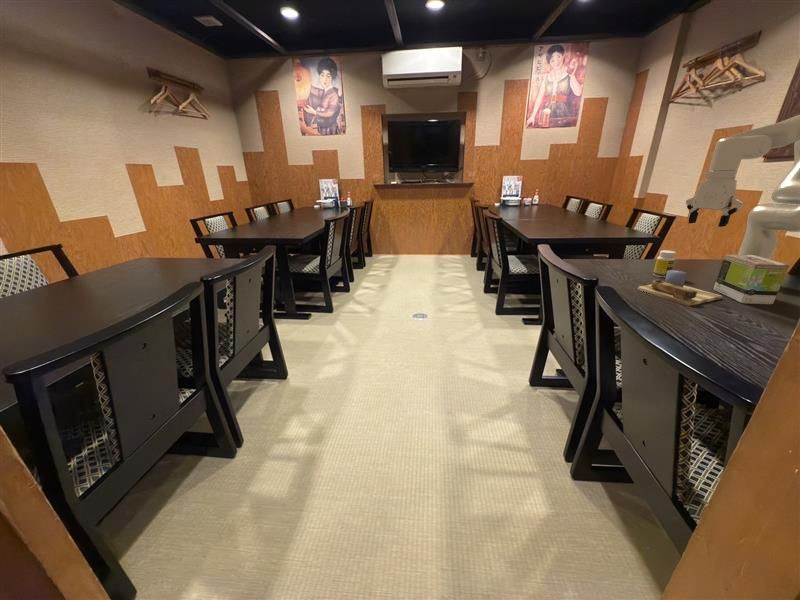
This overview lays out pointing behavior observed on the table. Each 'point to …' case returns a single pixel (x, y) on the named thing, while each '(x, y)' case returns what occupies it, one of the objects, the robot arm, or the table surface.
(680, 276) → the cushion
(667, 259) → the supplement bottle
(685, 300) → the board
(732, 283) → the tea box
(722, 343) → the table surface
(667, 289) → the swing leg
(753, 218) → the robot arm
